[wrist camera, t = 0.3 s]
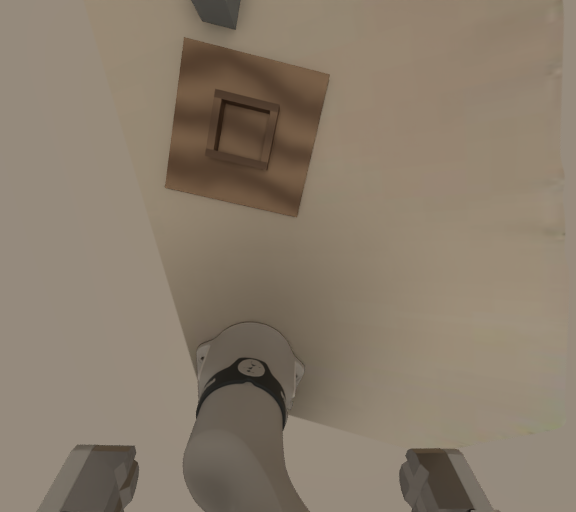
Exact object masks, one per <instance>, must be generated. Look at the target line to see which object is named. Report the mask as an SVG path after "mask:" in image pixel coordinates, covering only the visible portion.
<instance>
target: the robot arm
mask: <svg viewBox="0 0 576 512" xmlns="http://www.w3.org/2000/svg"><path fill="white" fill-rule="evenodd" d="M196 356H197V376H198V393H199V395H198V396H199V401H198V407H197V411H196V422H195V425H194V427H193V430H192V433H191V436H190V438H189V441H188V444H187V447H186V449H185V453H184V458H183V474H184V479H185V482H186V485H187V487H188V489H189V491H190V493H191V495H192V497H193V499H194V500H195V502H196V503H197V504H198V505H199V506H200V507H201V508H202V509H203V510H204V511H205V512H310V511H309V510H308V508H307V507H306V506H305V504H304V503H303V501H302V500H301V498H300V497H299V495H298V494H297V492H296V490H295V488H294V487H293V485H292V483H291V481H290V478H289V476H288V473H287V470H286V467H285V460H284V451H283V429H284V427H285V424H286V422H287V418H288V413H287V409H289V410H290V409H291V408H292V405H293V401H292V400H291V399H292V398H294V397H295V391H296V388H297V386H298V384H299V382H300V380H301V378H302V376H303V374H304V365H303V364H302V363H301V361H300V360H298V359H297V358H296V357H295V356H294V354H293V352H292V350H291V348H290V345H289V343H288V342H287V340H286V339H285V338H284V337H283V336H282V335H281V334H280V333H279V332H278V331H277V330H275V329H273V328H272V327H269V326H267V325H264V324H260V323H254V322H247V323H240V324H236V325H233V326H231V327H229V328H227V329H226V330H224V331H223V332H222V333H221V334H219V335H218V336H217V337H216V338H215V339H213V340H211V341H208V342H205V343H203V344H201V345H200V346H199V347H198V349H197V352H196ZM202 357H204V358H202ZM135 455H136V450H135V446H120V445H119V446H118V445H114V446H113V445H77V446H76V447H75V448H74V449H73V450H72V451H71V452H70V454H69V456H68V458H67V459H66V461H65V463H64V465H63V467H62V468H61V470H60V472H59V474H58V475H57V477H56V479H55V480H54V482H53V484H52V486H51V488H50V489H49V491H48V493H47V495H46V496H45V498H44V500H43V502H42V503H41V505H40V507H39V509H38V510H37V512H124V510H123V509H124V508H125V507H126V506H127V505H128V504H129V503H130V502H131V501H132V498H133V495H134V492H135V489H136V485H137V480H138V474H139V466H138V462H136V461H135V460H134V458H135ZM406 458H407V461H406V462H405V463H403V464H402V466H401V469H400V473H399V476H400V486H401V491H402V494H403V497H404V499H405V501H406V502H408V504H409V505H410V506H411V507H412V512H500V511H499V510H493V508H492V506H491V504H490V502H489V501H488V499H487V497H486V495H485V493H484V492H483V490H482V488H481V486H480V484H479V482H478V481H477V479H476V477H475V475H474V473H473V472H472V470H471V468H470V466H469V464H468V463H467V461H466V459H465V457H464V455H463V454H462V453H461V452H460V451H459V450H458V449H440V448H424V449H409V450H408V451H407V453H406Z"/></svg>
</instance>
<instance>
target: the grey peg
mask: <svg viewBox="0 0 576 512" xmlns="http://www.w3.org/2000/svg"><path fill="white" fill-rule="evenodd" d="M191 1H192V3H193V4H194V6H195V8H196V10H197V12H198V14H199V16H200V17H201V19H202V21H204V22H208V23H212V24H216V25H220V26H223V27H227V28H231V29H235V30H236V24H237V18H238V11H239V5H240V0H191Z"/></svg>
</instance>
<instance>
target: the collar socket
mask: <svg viewBox="0 0 576 512" xmlns="http://www.w3.org/2000/svg"><path fill="white" fill-rule="evenodd" d="M329 76H330V75H329V74H325V73H321V72H317V71H314V70H310V69H306V68H302V67H298V66H294V65H290V64H286V63H282V62H278V61H275V60H271V59H267V58H263V57H259V56H255V55H251V54H247V53H243V52H239V51H236V50H232V49H228V48H224V47H220V46H216V45H212V44H208V43H204V42H200V41H197V40H193V39H189V38H185V37H184V43H183V51H182V59H181V67H180V74H179V82H178V90H177V98H176V106H175V114H174V122H173V129H172V137H171V145H170V153H169V161H168V169H167V176H166V184H165V188H169V189H174V190H178V191H183V192H187V193H192V194H196V195H201V196H205V197H209V198H214V199H218V200H223V201H227V202H232V203H236V204H241V205H245V206H250V207H254V208H258V209H263V210H267V211H272V212H276V213H281V214H285V215H290V216H294V217H297V214H298V209H299V205H300V201H301V197H302V192H303V188H304V184H305V179H306V175H307V171H308V167H309V162H310V158H311V154H312V149H313V145H314V141H315V137H316V132H317V128H318V124H319V119H320V115H321V111H322V106H323V102H324V98H325V94H326V89H327V85H328V81H329Z"/></svg>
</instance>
